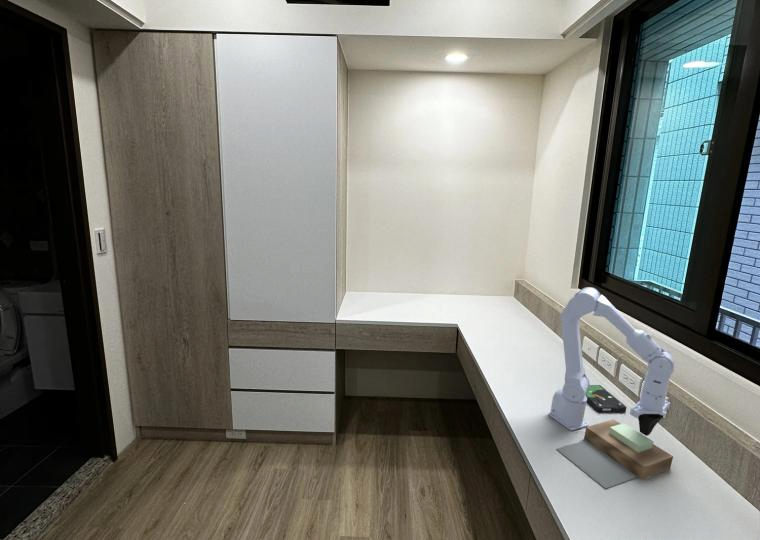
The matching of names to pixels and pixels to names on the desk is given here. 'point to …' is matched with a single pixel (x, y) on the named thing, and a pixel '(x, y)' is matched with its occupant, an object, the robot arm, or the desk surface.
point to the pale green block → (631, 437)
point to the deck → (628, 451)
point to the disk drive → (603, 400)
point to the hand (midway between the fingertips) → (644, 433)
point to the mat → (596, 464)
